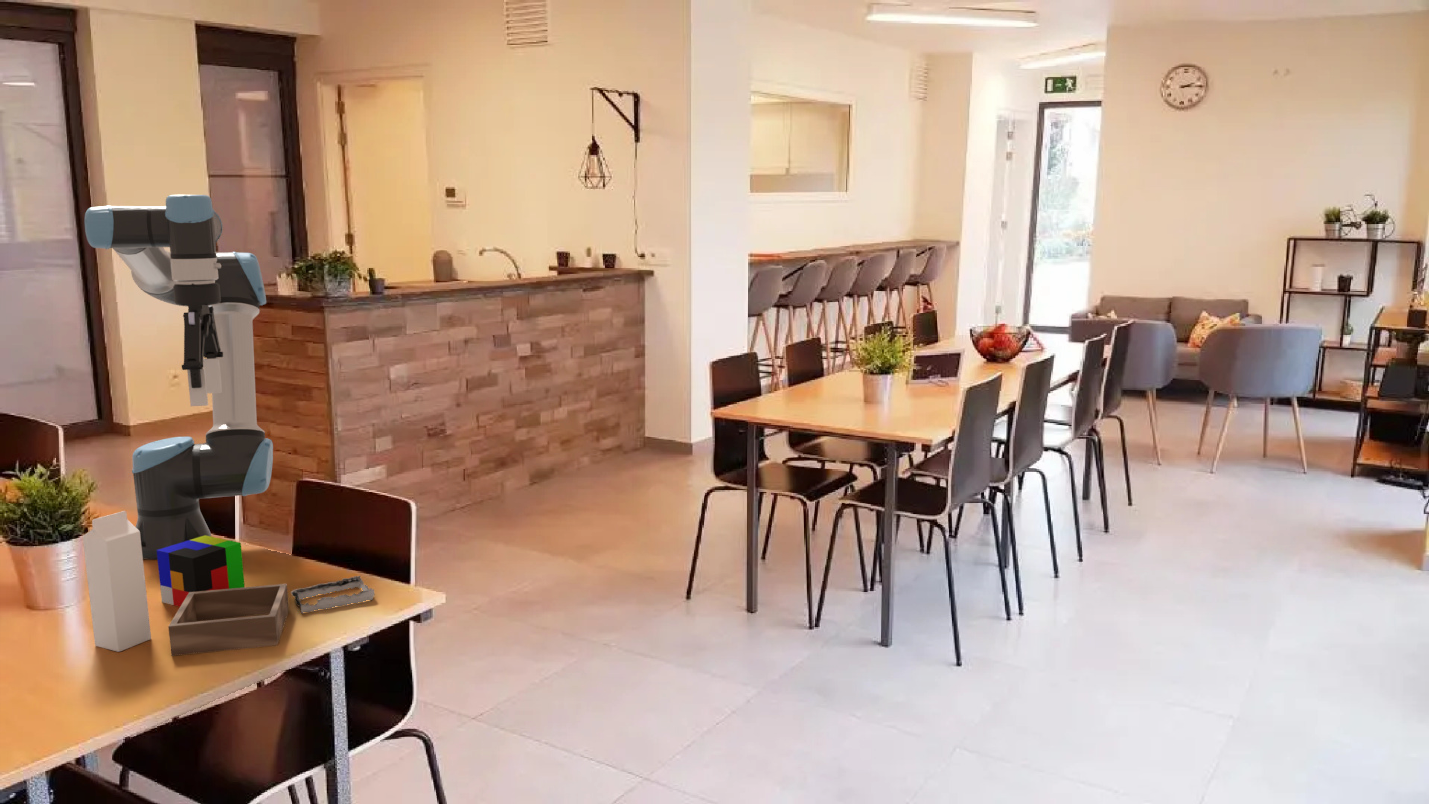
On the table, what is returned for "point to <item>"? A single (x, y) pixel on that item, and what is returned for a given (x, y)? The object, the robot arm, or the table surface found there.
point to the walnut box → (231, 631)
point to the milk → (116, 583)
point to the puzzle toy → (199, 567)
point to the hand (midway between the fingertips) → (206, 399)
